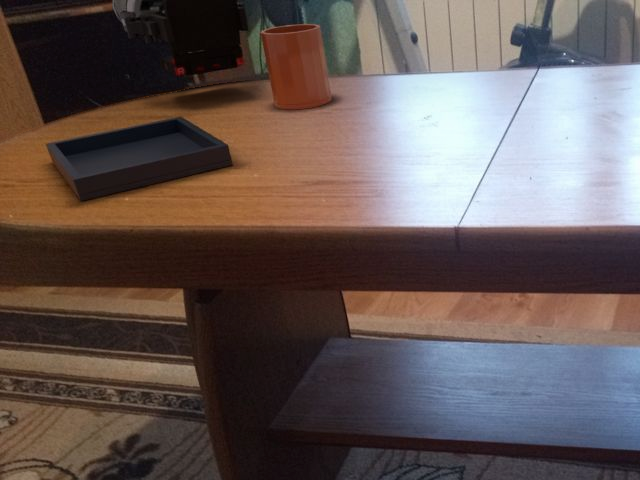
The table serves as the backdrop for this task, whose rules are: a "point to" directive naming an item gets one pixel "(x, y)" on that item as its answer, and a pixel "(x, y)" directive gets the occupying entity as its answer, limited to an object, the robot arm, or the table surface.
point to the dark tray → (136, 156)
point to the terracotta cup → (296, 66)
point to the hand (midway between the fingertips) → (207, 24)
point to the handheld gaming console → (203, 36)
